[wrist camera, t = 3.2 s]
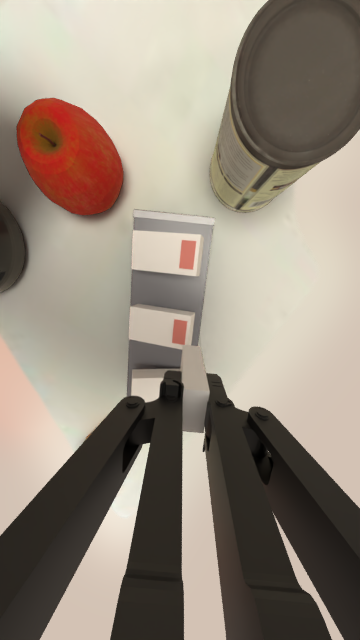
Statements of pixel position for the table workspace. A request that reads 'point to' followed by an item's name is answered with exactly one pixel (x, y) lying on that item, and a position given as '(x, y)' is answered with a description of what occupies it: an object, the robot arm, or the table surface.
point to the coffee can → (287, 99)
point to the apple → (69, 156)
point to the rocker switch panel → (168, 288)
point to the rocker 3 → (147, 383)
